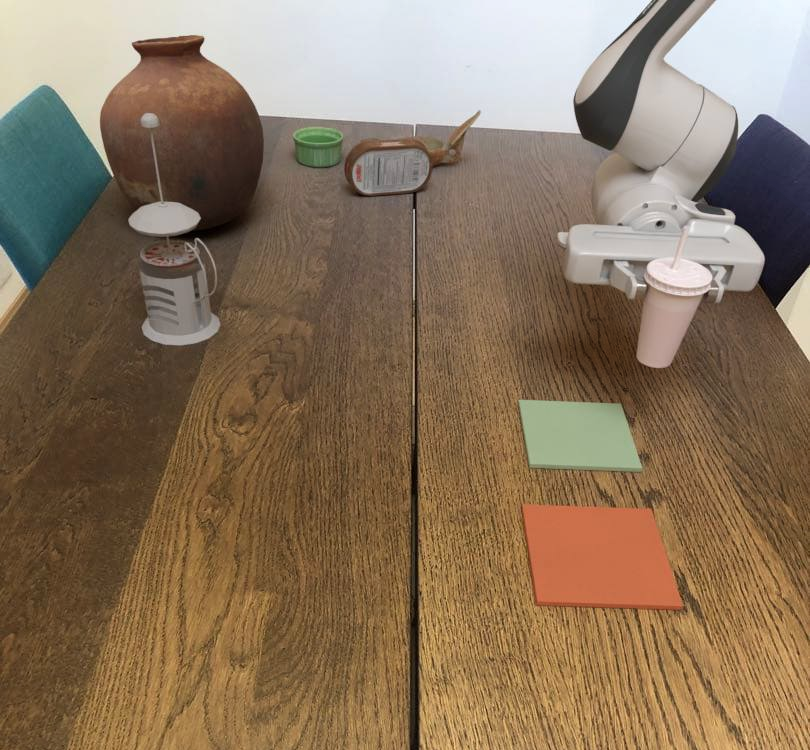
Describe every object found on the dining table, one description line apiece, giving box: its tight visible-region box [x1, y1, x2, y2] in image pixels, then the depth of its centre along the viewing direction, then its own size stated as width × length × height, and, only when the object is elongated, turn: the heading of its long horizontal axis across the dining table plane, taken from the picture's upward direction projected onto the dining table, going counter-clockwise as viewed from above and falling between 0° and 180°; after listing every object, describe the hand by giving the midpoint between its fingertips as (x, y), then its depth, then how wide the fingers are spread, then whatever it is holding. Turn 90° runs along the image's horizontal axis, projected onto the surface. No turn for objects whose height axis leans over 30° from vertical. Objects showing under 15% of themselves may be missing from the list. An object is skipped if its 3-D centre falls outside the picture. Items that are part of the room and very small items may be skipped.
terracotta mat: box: [520, 503, 684, 611], centre depth 77 cm, size 13×13×1 cm
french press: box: [128, 113, 221, 346], centre depth 95 cm, size 10×12×25 cm
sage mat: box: [517, 399, 643, 473], centre depth 91 cm, size 12×12×1 cm
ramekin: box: [292, 126, 344, 169], centre depth 148 cm, size 9×9×4 cm
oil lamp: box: [359, 109, 482, 167], centre depth 147 cm, size 9×21×10 cm, turn 80°
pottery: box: [99, 34, 265, 232], centre depth 119 cm, size 23×23×25 cm
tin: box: [343, 138, 434, 197], centre depth 136 cm, size 15×3×8 cm, turn 108°
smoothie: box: [636, 226, 712, 369], centre depth 81 cm, size 6×6×14 cm
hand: (676, 294), depth 80 cm, fingers closed on smoothie, 6 cm apart
